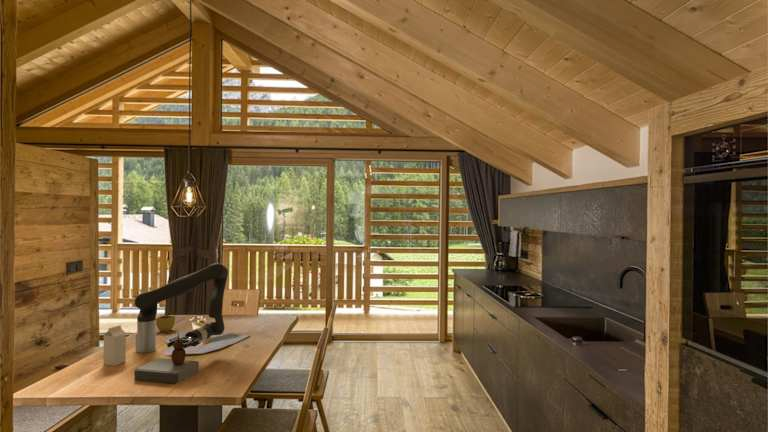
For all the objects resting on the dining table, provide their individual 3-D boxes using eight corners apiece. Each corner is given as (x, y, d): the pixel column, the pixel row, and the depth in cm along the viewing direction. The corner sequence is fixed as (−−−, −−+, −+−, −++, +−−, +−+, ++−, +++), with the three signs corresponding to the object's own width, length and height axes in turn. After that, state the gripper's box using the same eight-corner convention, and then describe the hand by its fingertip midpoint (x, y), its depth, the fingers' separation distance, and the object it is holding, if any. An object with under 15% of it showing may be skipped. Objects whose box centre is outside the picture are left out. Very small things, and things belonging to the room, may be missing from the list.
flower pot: (167, 332, 298) (167, 319, 298) (155, 332, 300) (155, 318, 299) (175, 329, 306) (175, 315, 306) (164, 328, 308) (164, 315, 308)
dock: (134, 380, 216) (134, 369, 215) (159, 367, 232) (159, 358, 232) (176, 384, 211) (176, 373, 211) (198, 371, 228) (198, 361, 228)
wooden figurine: (174, 361, 227) (174, 331, 226) (187, 361, 227) (187, 331, 227) (169, 366, 220) (169, 335, 220) (182, 366, 220) (182, 335, 220)
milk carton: (125, 362, 241) (125, 325, 241) (113, 366, 234) (113, 328, 234) (115, 360, 243) (115, 324, 243) (103, 364, 237) (103, 327, 236)
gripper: (183, 328, 239) (162, 337, 223) (208, 330, 236) (189, 338, 220) (183, 343, 239) (162, 352, 223) (208, 344, 236) (189, 354, 220)
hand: (175, 345), depth 221 cm, fingers open, 8 cm apart
